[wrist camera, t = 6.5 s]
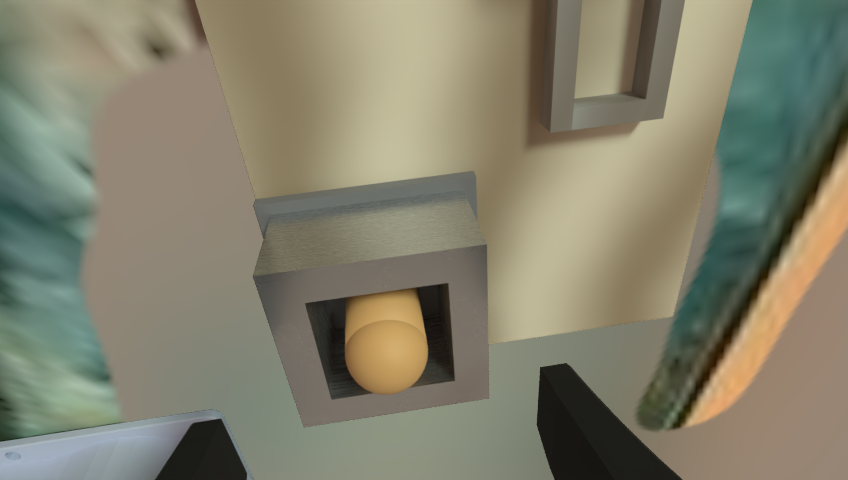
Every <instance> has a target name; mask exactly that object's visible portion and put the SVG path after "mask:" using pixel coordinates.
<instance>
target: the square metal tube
mask: <svg viewBox="0 0 848 480" xmlns="http://www.w3.org/2000/svg"><path fill="white" fill-rule="evenodd" d="M253 278H254V281H255V284H256V287H257V290H258V293H259V296H260V299H261V302H262V304H263V308H264V311H265V314H266V317H267V320H268V323H269V326H270V329H271V331H272V334H273V337H274V340H275V343H276V346H277V349H278V352H279V355H280V358H281V361H282V364H283V367H284V370H285V373H286V376H287V379H288V382H289V385H290V388H291V391H292V394H293V397H294V400H295V403H296V406H297V409H298V412H299V415H300V418H301V421H302V424H303V426H304V427H310V426H316V425H322V424H329V423H334V422H341V421H348V420H354V419H361V418H367V417H374V416H380V415H386V414H392V413H399V412H405V411H411V410H418V409H425V408H431V407H437V406H444V405H450V404H457V403H463V402H469V401H475V400H482V399H489V351H488V350H489V349H488V275H487V243H486V241H485V238H484V236H483V234H482V231H481V229H480V227H479V224H478V222H477V220H476V218H475V215H474V213H473V211H472V208H471V206H470V204H469V201H468V199H467V197H466V195H465V192H464V190H457V191H450V192H442V193H434V194H426V195H419V196H411V197H403V198H396V199H388V200H380V201H372V202H365V203H357V204H349V205H341V206H334V207H326V208H318V209H311V210H303V211H295V212H287V213H280V214H272V215H271V216H270V220H269V223H268V227H267V230H266V233H265V237H264V240H263V244H262V247H261V250H260V254H259V258H258V261H257V264H256V267H255V271H254V274H253ZM436 284H437V287H438V299H439V311H440V314H433V315H426V316H422V317H423V323H424V328H425V334H426V339H427V345H428V358H427V363H426V366H425V369H424V371H423V373H422V375H421V376H420V377H419V379H418V380H417V381H416V382H415V383H414V384H413V385H412V386H410V387H409V388H408V389H406V390H404V391H402V392H399V393H396V394H390V395H381V394H376V393H372V392H370V391H368V390H366V389H364V388H363V387H361V386H360V385H359V384H358V383H357V382H356V381H355V380H354V379H353V377H352V376H351V374H350V372H349V370H348V368H347V365H346V360H345V327H343V328H336V329H335V328H334V324H333V319H332V315H331V311H330V307H329V303H328V300H330V299H337V298H344V297H351V296H358V295H365V294H373V293H380V292H387V291H394V290H401V289H408V288H415V287H422V286H429V285H436Z"/></svg>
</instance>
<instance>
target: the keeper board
mask: <svg viewBox="0 0 848 480" xmlns="http://www.w3.org/2000/svg"><path fill="white" fill-rule="evenodd" d="M195 2H196V6H197V9H198V12H199V15H200V19H201V22H202V25H203V28H204V32H205V35H206V38H207V42H208V45H209V48H210V51H211V55H212V58H213V61H214V64H215V68H216V71H217V74H218V78H219V81H220V84H221V87H222V91H223V94H224V97H225V100H226V103H227V107H228V110H229V114H230V117H231V120H232V123H233V127H234V130H235V133H236V137H237V140H238V143H239V146H240V150H241V153H242V156H243V159H244V163H245V166H246V169H247V172H248V176H249V179H250V182H251V186H252V189H253V192H254V195H255V199H261V198H269V197H276V196H284V195H292V194H299V193H307V192H315V191H322V190H330V189H338V188H345V187H353V186H361V185H368V184H376V183H384V182H391V181H399V180H407V179H414V178H422V177H430V176H437V175H445V174H452V173H460V172H468V171H474V173H475V175H476V188H477V222H478V224H479V227H480V229H481V231H482V234H483V236H484V238H485V241H486V243H487V275H488V345H489V344H495V343H502V342H509V341H516V340H522V339H528V338H535V337H542V336H548V335H554V334H562V333H568V332H575V331H581V330H588V329H594V328H600V327H607V326H614V325H620V324H627V323H634V322H640V321H647V320H654V319H660V318H667V317H673V314H674V310H675V306H676V302H677V298H678V294H679V290H680V286H681V282H682V278H683V274H684V270H685V266H686V262H687V258H688V254H689V250H690V246H691V242H692V238H693V234H694V230H695V226H696V222H697V218H698V214H699V211H700V207H701V202H702V199H703V195H704V190H705V187H706V183H707V179H708V175H709V171H710V167H711V163H712V159H713V155H714V151H715V147H716V143H717V139H718V135H719V131H720V127H721V123H722V119H723V115H724V111H725V107H726V103H727V99H728V95H729V91H730V87H731V84H732V80H733V76H734V72H735V68H736V64H737V60H738V56H739V52H740V48H741V44H742V40H743V36H744V32H745V28H746V24H747V20H748V16H749V12H750V8H751V4H752V0H195Z"/></svg>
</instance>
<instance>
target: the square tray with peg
mask: <svg viewBox="0 0 848 480" xmlns="http://www.w3.org/2000/svg"><path fill="white" fill-rule="evenodd" d="M457 190H464V192H465V195H466V197H467V199H468V201H469V204H470V206H471V208H472V211H473V213H474V215H475V218H476V220H477V188H476V175H475V173H474V171H468V172H460V173H452V174H445V175H437V176H430V177H422V178H414V179H407V180H399V181H391V182H384V183H376V184H368V185H361V186H353V187H345V188H338V189H330V190H322V191H315V192H307V193H299V194H292V195H284V196H276V197H269V198H261V199H256V200H255V202H254V205H253V206H254V210H255V213H256V216H257V219H258V222H259V226H260V229H261V232H262V235H263V238H264V237H265V233H266V230H267V227H268V223H269V220H270V216H271V215H272V214H280V213H287V212H295V211H303V210H311V209H318V208H326V207H334V206H341V205H349V204H357V203H365V202H372V201H380V200H388V199H396V198H403V197H411V196H419V195H426V194H434V193H442V192H450V191H457ZM328 303H329V307H330V311H331V315H332V319H333V324H334V328H335V329H336V328H343V327H345V360H346V365H347V368H348V370H349V372H350V374H351V376H352V377H353V379H354V380H355V381H356V382H357V383H358V384H359V385H360V386H361V387H363V388H364V389H366V390H368V391H370V392H372V393H376V394H381V395H390V394H396V393H399V392H402V391H404V390H406V389H408V388H409V387H410V386H412V385H413V384H414V383H415V382H416V381H417V380H418V379H419V377H420V376H421V375H422V373H423V371H424V369H425V366H426V363H427V358H428V345H427V339H426V334H425V328H424V323H423V317H422V316H426V315H433V314H440V311H439V299H438V287H437V284H436V285H429V286H422V287H415V288H408V289H401V290H394V291H387V292H380V293H373V294H365V295H358V296H351V297H344V298H337V299H330V300H328Z"/></svg>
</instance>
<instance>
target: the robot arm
mask: <svg viewBox="0 0 848 480" xmlns="http://www.w3.org/2000/svg"><path fill="white" fill-rule="evenodd" d="M537 427H538V430H539V434H540V437H541V440H542V443H543V447H544V450H545V454H546V457H547V460H548V463H549V466H550V469H551V472H552V474H553V476H554V479H555V480H682V479H681V478H680V477H679V476H678V475H677V474H676V473H675V472H674V471H672V470H671V469H670V468H669V467H668V466H667V465H666V464H664V462H662V461H661V460H660V459H659V458H658V457H657V456H656V455H655V454H654V453H653V452H652V451H651V450H650V449H649V448H648V447H646V446H645V445H644V444H643V443H642V442H641V441H640V440H639V439H638V438H637V437H636V436H635V435H634V434H633V433H632V432H631V431H630V430H629V429H628V428H627V427H626V426H625V425H624V424H623V423H622V422H621V421H620V420H619V419H618V418H617V417H616V416H615V415H614V414H613V413H612V412H611V410H610V409H609V408H608V407H607V406H606V405H605V404H604V403H603V402H602V401H601V400H600V399H599V398H598V397H597V396H596V394H595V393H594V392H593V391H592V390H591V389H590V388H589V387H588V386H587V385H586V383H585V382H584V381H583V380H582V379H581V378H580V377H579V376H578V374H577V373H576V372H575V371H574V370H573V369H572V368H571V367H570V366H569V365H568V364H567V363H564V364H558V365H552V366H545V367H540V381H539V397H538V413H537ZM0 480H254V479H253V477H252V475H251V473H250V471H249V469H248V466H247V464H246V462H245V460H244V458H243V456H242V454H241V451H240V449H239V447H238V445H237V443H236V441H235V439H234V437H233V435H232V432H231V430H230V428H229V426H228V424H227V422H226V420H225V418H224V416H223V415H222V413H220V412H219V411H217V410H203V411H196V412H190V413H183V414H177V415H171V416H164V417H158V418H151V419H145V420H138V421H132V422H125V423H119V424H112V425H106V426H99V427H93V428H87V429H80V430H74V431H67V432H61V433H54V434H48V435H41V436H35V437H28V438H22V439H16V440H9V441H3V442H0Z"/></svg>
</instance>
